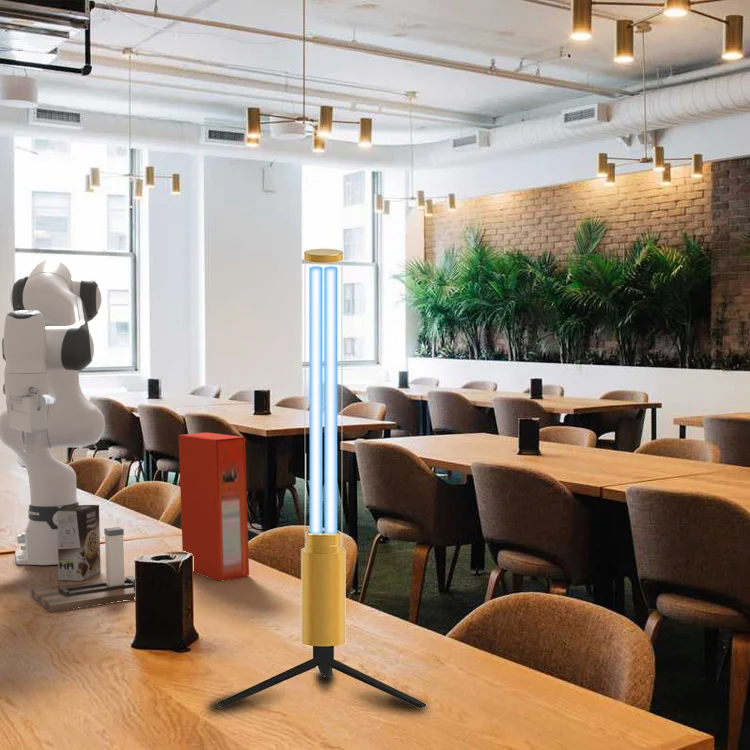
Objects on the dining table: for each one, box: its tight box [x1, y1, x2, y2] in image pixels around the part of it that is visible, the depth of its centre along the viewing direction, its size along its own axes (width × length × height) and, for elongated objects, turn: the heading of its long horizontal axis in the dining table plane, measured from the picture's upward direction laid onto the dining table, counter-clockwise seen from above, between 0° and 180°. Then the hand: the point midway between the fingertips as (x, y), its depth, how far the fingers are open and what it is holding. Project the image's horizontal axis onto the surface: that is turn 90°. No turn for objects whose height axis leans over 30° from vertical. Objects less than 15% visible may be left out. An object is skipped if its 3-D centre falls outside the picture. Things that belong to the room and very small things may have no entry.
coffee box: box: [57, 504, 102, 582], centre depth 242 cm, size 9×6×16 cm
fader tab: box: [103, 526, 125, 587], centre depth 225 cm, size 3×3×12 cm
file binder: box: [178, 431, 250, 582], centre depth 243 cm, size 8×17×32 cm, turn 38°
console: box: [31, 575, 135, 613], centre depth 223 cm, size 16×22×4 cm
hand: (28, 452), depth 222 cm, fingers closed
